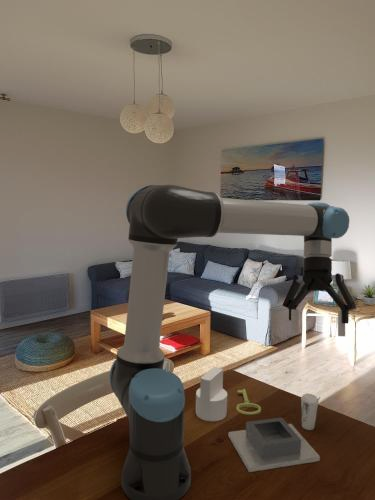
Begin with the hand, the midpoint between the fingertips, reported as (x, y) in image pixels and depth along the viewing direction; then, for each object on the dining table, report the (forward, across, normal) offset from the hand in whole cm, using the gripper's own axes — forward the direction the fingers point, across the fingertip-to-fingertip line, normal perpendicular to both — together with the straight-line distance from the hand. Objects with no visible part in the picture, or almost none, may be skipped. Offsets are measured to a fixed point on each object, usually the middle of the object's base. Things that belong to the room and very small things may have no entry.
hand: (317, 334), depth 109 cm
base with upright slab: (+24, +27, +11) cm, 38 cm away
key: (+23, +23, 0) cm, 32 cm away
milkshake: (+25, +4, -3) cm, 26 cm away
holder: (+28, +6, +12) cm, 31 cm away
